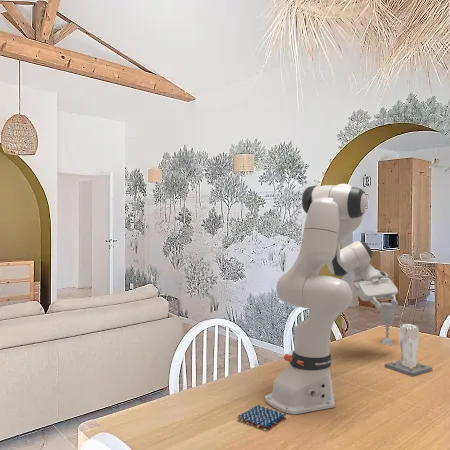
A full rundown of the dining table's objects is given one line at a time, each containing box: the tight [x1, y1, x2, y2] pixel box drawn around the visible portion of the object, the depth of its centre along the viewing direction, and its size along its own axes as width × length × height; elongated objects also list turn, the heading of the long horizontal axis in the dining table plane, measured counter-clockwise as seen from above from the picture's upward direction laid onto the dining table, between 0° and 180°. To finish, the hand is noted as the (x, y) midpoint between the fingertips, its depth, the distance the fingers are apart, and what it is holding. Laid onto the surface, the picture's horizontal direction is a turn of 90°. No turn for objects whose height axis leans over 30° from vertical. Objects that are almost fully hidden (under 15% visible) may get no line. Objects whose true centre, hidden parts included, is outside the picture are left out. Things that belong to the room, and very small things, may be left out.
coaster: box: [384, 359, 433, 377], centre depth 167 cm, size 12×12×2 cm
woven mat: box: [237, 404, 287, 432], centre depth 124 cm, size 10×11×2 cm
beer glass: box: [398, 323, 420, 368], centre depth 167 cm, size 7×7×15 cm
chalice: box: [379, 302, 396, 346], centre depth 200 cm, size 7×7×18 cm
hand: (388, 306), depth 174 cm, fingers open, 8 cm apart
